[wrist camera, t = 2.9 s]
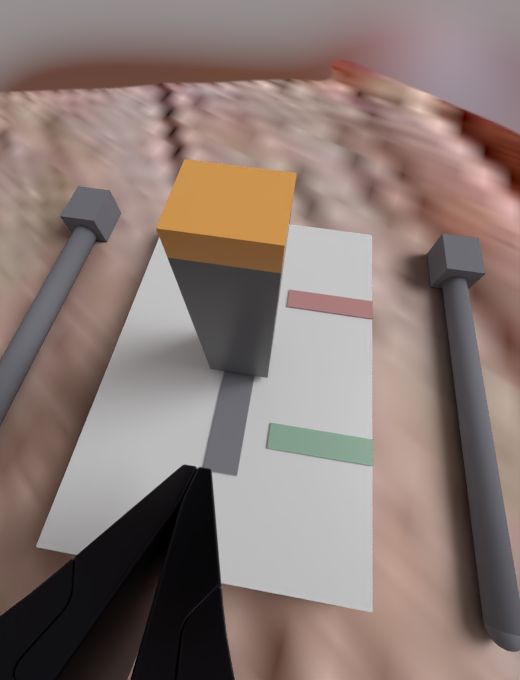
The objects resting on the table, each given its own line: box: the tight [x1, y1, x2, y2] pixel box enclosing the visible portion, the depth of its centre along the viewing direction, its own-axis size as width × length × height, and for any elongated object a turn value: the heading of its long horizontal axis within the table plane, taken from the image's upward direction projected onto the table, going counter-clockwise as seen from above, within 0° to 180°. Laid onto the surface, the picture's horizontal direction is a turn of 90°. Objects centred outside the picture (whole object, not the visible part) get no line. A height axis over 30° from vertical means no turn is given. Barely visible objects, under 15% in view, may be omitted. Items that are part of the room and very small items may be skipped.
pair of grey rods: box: [0, 186, 520, 652], centre depth 17 cm, size 22×28×2 cm
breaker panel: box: [36, 224, 373, 612], centre depth 17 cm, size 20×14×2 cm
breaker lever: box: [156, 159, 296, 378], centre depth 12 cm, size 2×3×10 cm
